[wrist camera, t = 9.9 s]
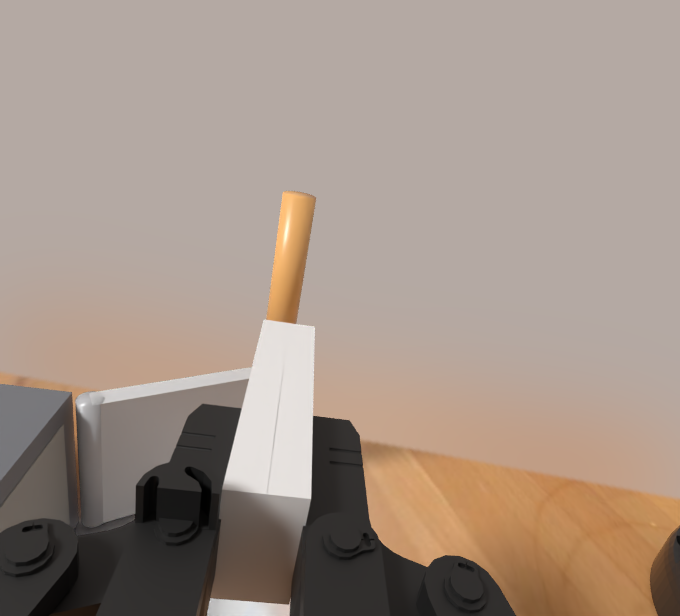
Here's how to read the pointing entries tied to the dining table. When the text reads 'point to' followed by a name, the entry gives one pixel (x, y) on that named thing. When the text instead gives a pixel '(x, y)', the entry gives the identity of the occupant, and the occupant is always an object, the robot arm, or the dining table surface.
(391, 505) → the dining table surface
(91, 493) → the side door
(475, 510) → the dining table surface
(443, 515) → the dining table surface
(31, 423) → the box
